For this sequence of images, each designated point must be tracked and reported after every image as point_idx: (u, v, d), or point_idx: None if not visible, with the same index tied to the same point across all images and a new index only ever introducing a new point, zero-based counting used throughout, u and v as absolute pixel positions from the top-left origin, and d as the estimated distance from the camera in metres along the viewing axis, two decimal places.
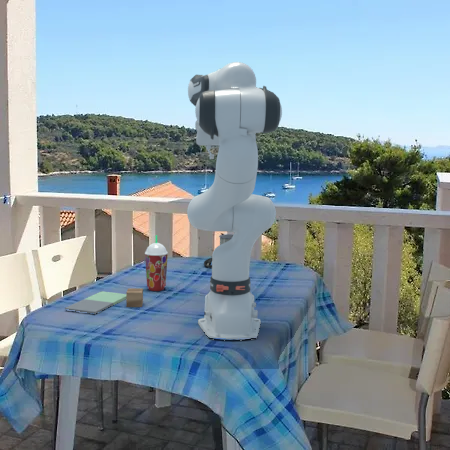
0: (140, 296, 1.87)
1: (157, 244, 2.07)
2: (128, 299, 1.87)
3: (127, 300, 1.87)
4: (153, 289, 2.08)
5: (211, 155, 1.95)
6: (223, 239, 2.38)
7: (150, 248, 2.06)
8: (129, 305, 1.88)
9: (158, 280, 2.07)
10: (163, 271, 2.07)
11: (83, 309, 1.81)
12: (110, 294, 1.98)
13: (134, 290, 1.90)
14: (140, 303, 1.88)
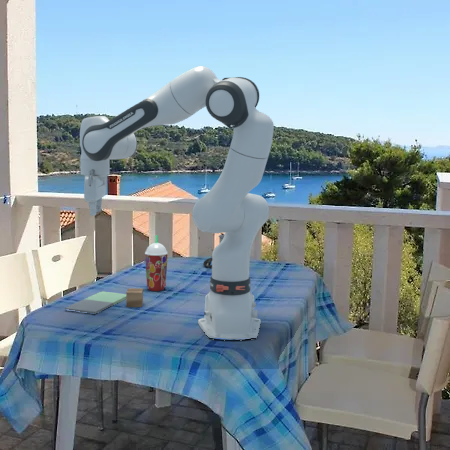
0: (140, 296, 1.87)
1: (157, 244, 2.07)
2: (127, 299, 1.87)
3: (127, 300, 1.87)
4: (153, 289, 2.08)
5: (95, 211, 1.75)
6: (222, 239, 2.38)
7: (150, 248, 2.06)
8: (129, 305, 1.88)
9: (158, 280, 2.07)
10: (163, 271, 2.07)
11: (83, 309, 1.81)
12: (110, 294, 1.98)
13: (134, 290, 1.90)
14: (140, 303, 1.88)
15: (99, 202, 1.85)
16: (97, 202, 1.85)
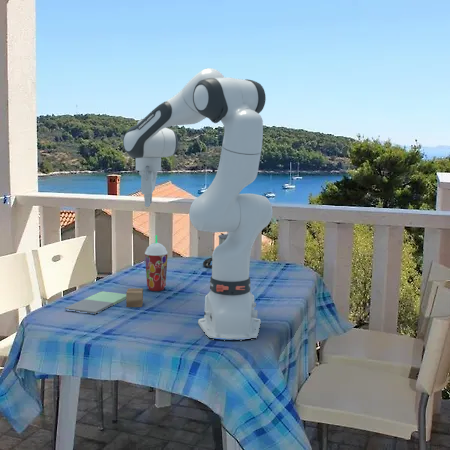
0: (140, 296, 1.87)
1: (157, 244, 2.07)
2: (127, 299, 1.87)
3: (127, 300, 1.87)
4: (153, 289, 2.08)
5: (149, 203, 1.98)
6: (222, 239, 2.38)
7: (150, 248, 2.06)
8: (129, 305, 1.88)
9: (158, 280, 2.07)
10: (163, 271, 2.07)
11: (83, 309, 1.81)
12: (110, 294, 1.98)
13: (134, 290, 1.90)
14: (140, 303, 1.88)
15: (150, 195, 2.08)
16: None
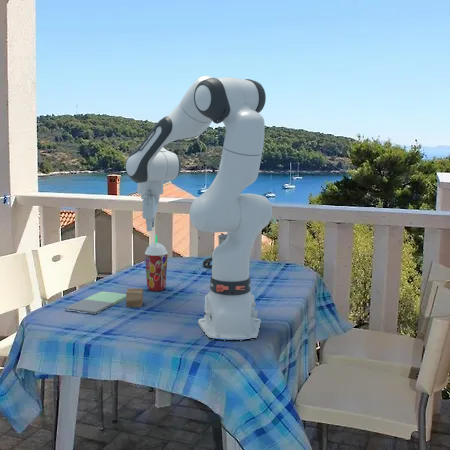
0: (140, 296, 1.87)
1: (157, 244, 2.07)
2: (127, 299, 1.87)
3: (127, 300, 1.87)
4: (153, 289, 2.08)
5: (151, 227, 1.94)
6: (222, 239, 2.38)
7: (150, 248, 2.06)
8: (129, 305, 1.88)
9: (158, 280, 2.07)
10: (163, 271, 2.07)
11: (83, 309, 1.81)
12: (110, 294, 1.98)
13: (134, 290, 1.90)
14: (140, 303, 1.88)
15: (152, 218, 2.04)
16: (151, 218, 2.04)
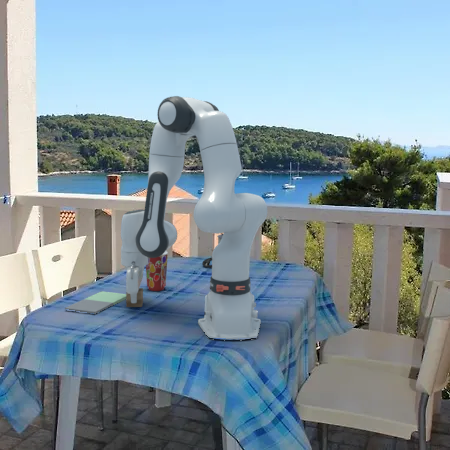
0: (140, 296, 1.88)
1: None
2: (127, 298, 1.87)
3: (127, 300, 1.87)
4: (153, 289, 2.08)
5: None
6: None
7: None
8: (129, 305, 1.88)
9: (158, 280, 2.07)
10: (163, 271, 2.07)
11: (83, 309, 1.81)
12: (110, 294, 1.98)
13: None
14: (140, 303, 1.88)
15: None
16: None
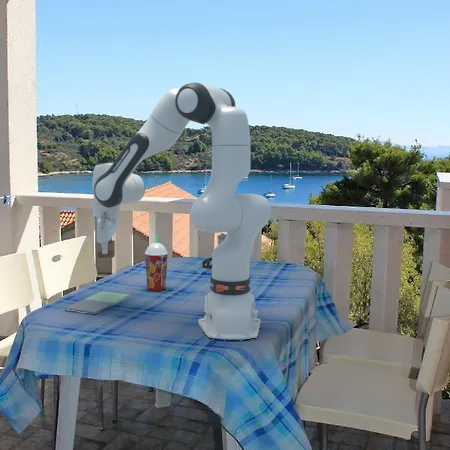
0: (111, 247, 1.91)
1: (157, 244, 2.07)
2: (99, 249, 1.91)
3: (98, 251, 1.91)
4: (153, 289, 2.08)
5: None
6: (221, 239, 2.38)
7: (150, 248, 2.06)
8: (100, 256, 1.91)
9: (158, 280, 2.07)
10: (163, 271, 2.07)
11: (83, 309, 1.81)
12: (110, 294, 1.98)
13: None
14: (111, 254, 1.91)
15: None
16: None
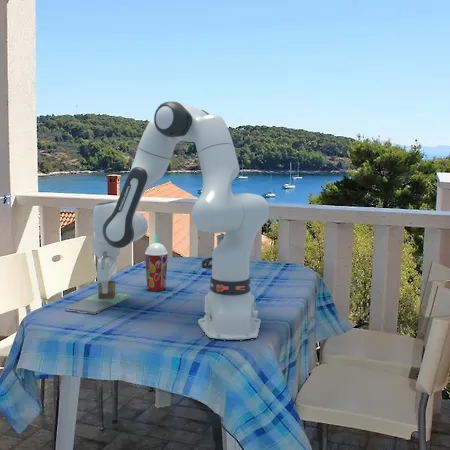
0: (112, 288, 1.93)
1: (157, 244, 2.07)
2: (100, 290, 1.93)
3: (99, 292, 1.93)
4: (153, 289, 2.08)
5: None
6: (220, 239, 2.38)
7: (150, 248, 2.06)
8: (101, 297, 1.93)
9: (158, 280, 2.07)
10: (163, 271, 2.07)
11: (83, 309, 1.81)
12: None
13: None
14: (112, 295, 1.93)
15: (110, 277, 2.00)
16: None
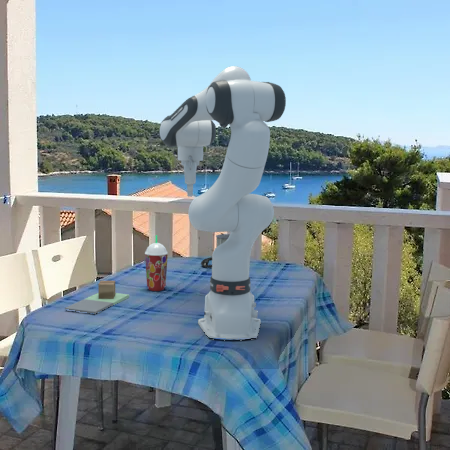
0: (112, 288, 1.93)
1: (157, 244, 2.07)
2: (100, 290, 1.93)
3: (99, 292, 1.93)
4: (153, 289, 2.08)
5: None
6: (219, 239, 2.38)
7: (150, 248, 2.06)
8: (101, 297, 1.93)
9: (158, 280, 2.07)
10: (163, 271, 2.07)
11: (83, 309, 1.81)
12: None
13: (106, 282, 1.95)
14: (112, 295, 1.93)
15: None
16: None
